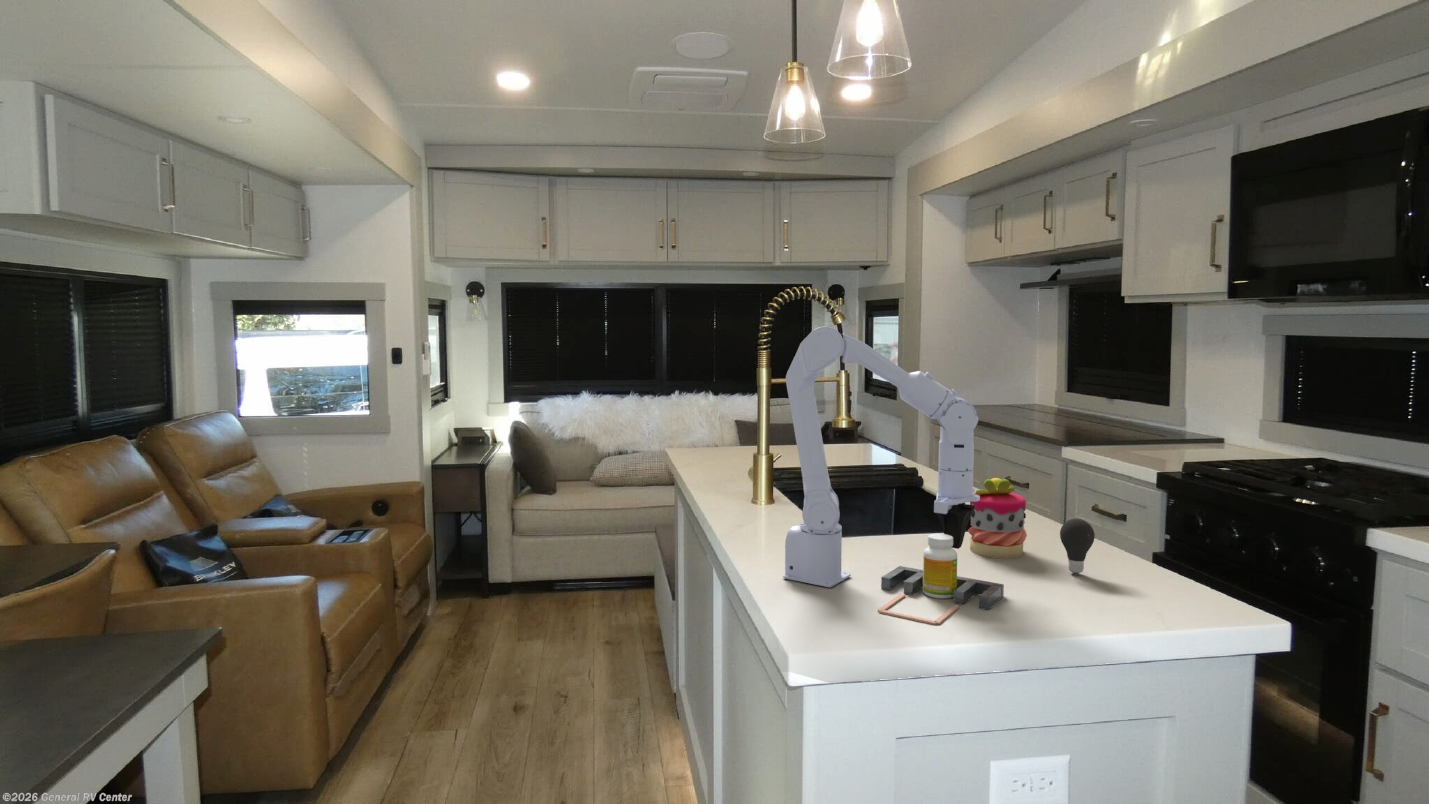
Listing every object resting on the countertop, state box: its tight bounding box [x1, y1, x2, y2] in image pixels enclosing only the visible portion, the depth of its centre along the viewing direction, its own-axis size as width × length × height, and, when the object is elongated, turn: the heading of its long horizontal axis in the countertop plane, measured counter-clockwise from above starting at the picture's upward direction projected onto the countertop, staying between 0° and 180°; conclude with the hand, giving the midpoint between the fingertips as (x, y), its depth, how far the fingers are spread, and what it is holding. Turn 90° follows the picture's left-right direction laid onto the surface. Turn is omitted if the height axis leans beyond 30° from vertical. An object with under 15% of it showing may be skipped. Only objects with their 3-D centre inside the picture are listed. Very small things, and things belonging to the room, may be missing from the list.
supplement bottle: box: [922, 533, 958, 600], centre depth 133 cm, size 5×5×10 cm
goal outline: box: [877, 593, 961, 626], centre depth 126 cm, size 10×9×1 cm
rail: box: [880, 565, 1005, 611], centre depth 134 cm, size 18×8×2 cm, turn 54°
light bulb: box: [1059, 518, 1096, 576], centre depth 143 cm, size 6×6×10 cm
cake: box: [967, 477, 1028, 559], centre depth 158 cm, size 10×11×15 cm
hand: (954, 547), depth 138 cm, fingers closed
